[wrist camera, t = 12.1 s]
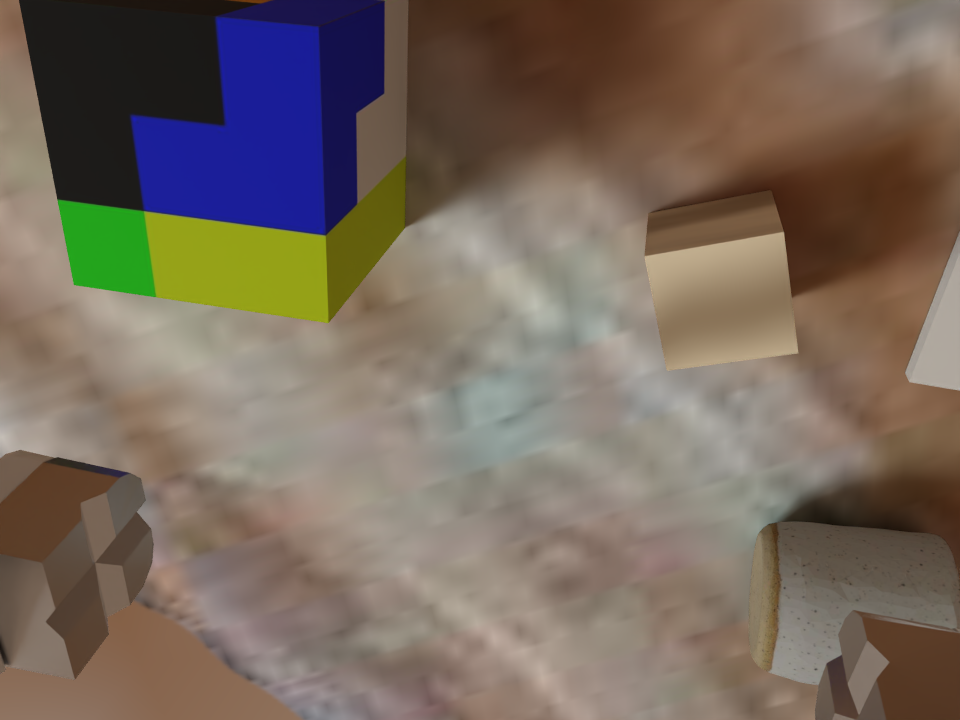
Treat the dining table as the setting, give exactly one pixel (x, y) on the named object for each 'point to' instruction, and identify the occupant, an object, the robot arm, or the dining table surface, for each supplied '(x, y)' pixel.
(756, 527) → the dining table surface
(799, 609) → the ceramic mug
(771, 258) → the maple block
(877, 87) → the dining table surface
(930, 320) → the white coaster
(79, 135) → the puzzle toy
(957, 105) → the dining table surface
